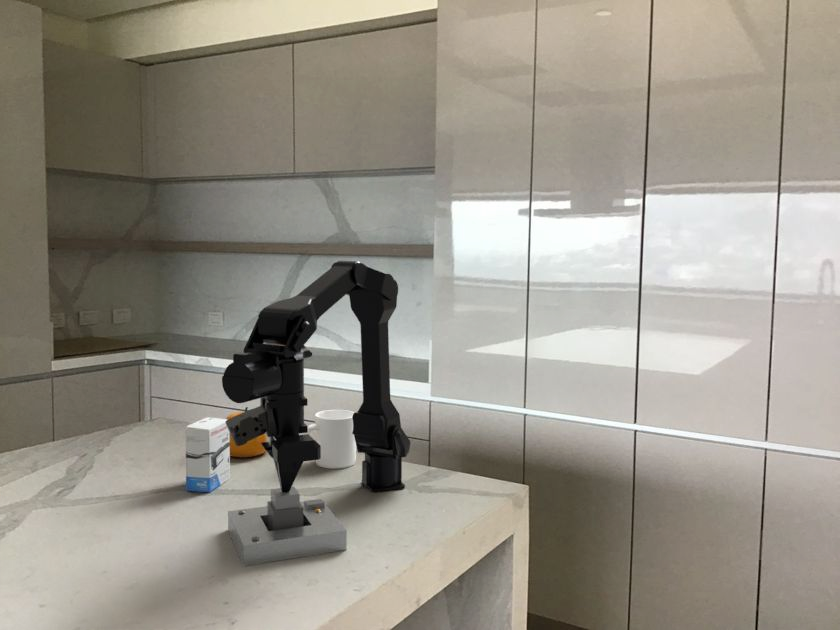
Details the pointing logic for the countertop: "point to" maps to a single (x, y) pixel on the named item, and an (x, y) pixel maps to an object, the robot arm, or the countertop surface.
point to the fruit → (247, 444)
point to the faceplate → (285, 534)
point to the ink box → (207, 454)
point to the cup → (334, 438)
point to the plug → (284, 510)
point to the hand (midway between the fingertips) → (285, 491)
